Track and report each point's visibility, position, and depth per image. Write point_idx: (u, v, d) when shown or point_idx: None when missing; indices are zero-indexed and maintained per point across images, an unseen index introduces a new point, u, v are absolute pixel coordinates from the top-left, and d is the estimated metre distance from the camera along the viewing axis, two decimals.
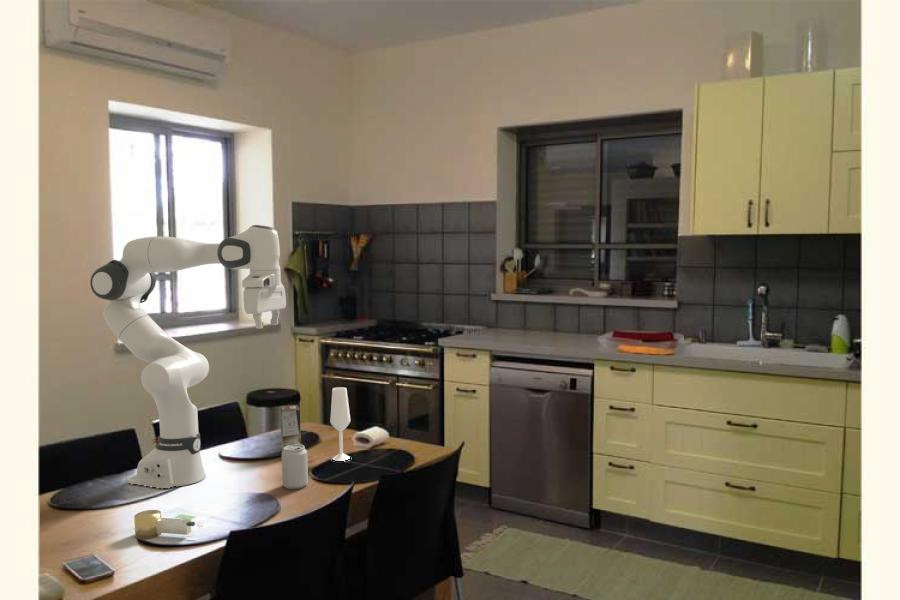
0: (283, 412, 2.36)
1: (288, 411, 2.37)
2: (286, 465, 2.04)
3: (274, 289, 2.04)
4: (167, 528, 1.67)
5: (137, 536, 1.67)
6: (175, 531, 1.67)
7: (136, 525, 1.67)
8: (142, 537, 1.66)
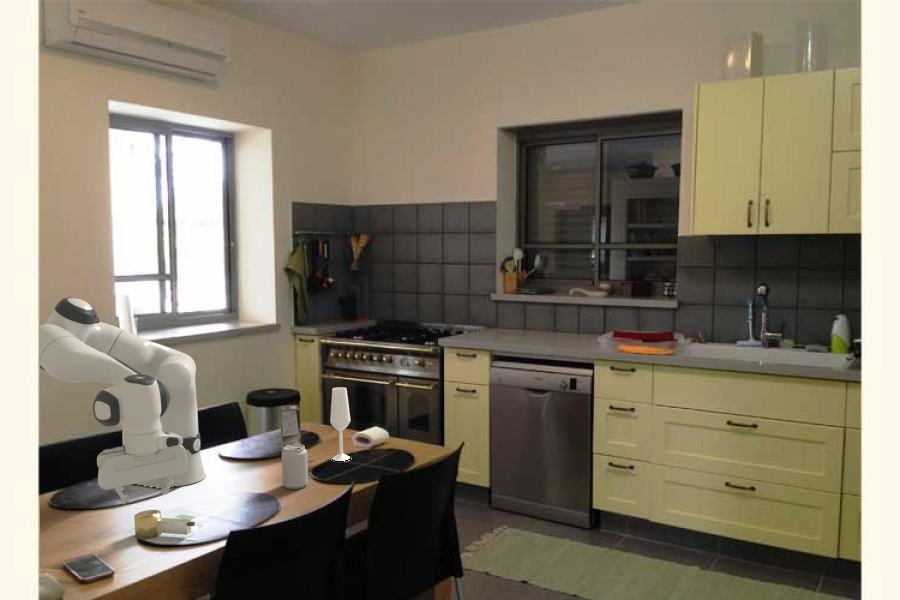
0: (283, 412, 2.36)
1: (288, 411, 2.37)
2: (286, 465, 2.04)
3: None
4: (167, 528, 1.67)
5: (137, 536, 1.67)
6: (175, 531, 1.67)
7: (136, 525, 1.67)
8: (142, 537, 1.66)
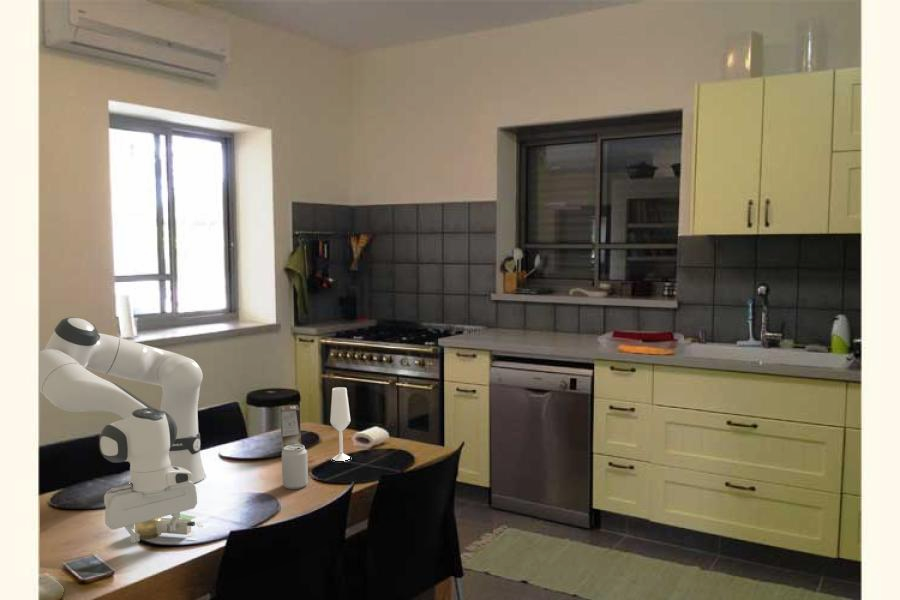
0: (283, 412, 2.36)
1: (288, 411, 2.37)
2: (286, 465, 2.04)
3: None
4: None
5: None
6: (175, 531, 1.67)
7: (136, 525, 1.67)
8: (142, 537, 1.66)
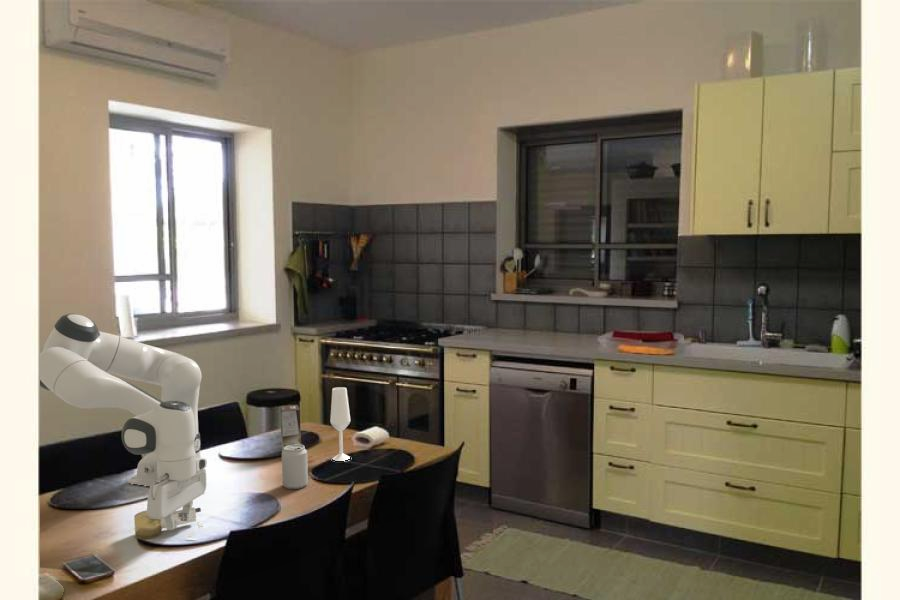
0: (283, 412, 2.36)
1: (288, 411, 2.37)
2: (286, 465, 2.04)
3: None
4: (174, 520, 1.72)
5: (146, 536, 1.66)
6: (183, 521, 1.73)
7: (144, 526, 1.66)
8: (153, 536, 1.67)
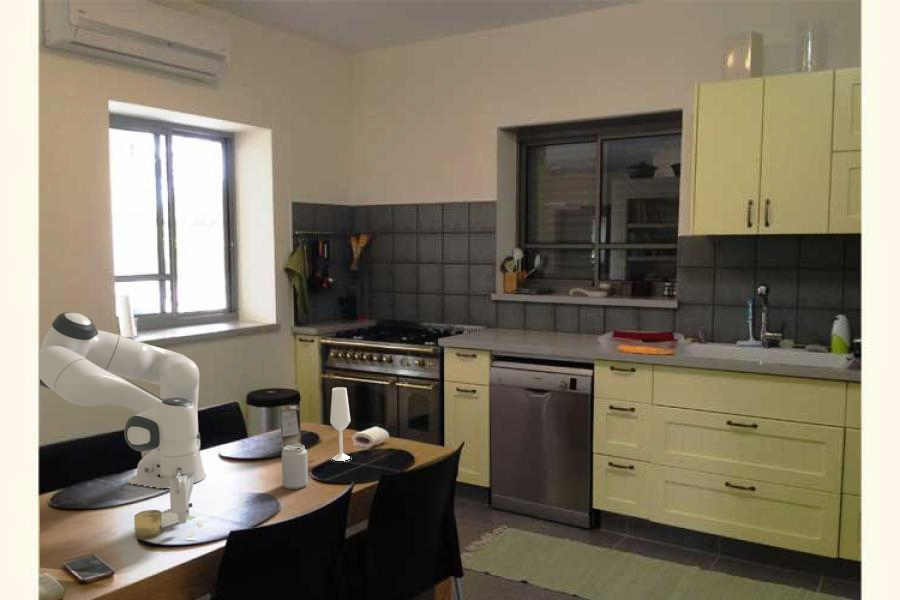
0: (283, 412, 2.36)
1: (288, 411, 2.37)
2: (286, 465, 2.04)
3: None
4: (171, 517, 1.74)
5: (151, 536, 1.67)
6: None
7: (150, 525, 1.66)
8: (157, 534, 1.68)
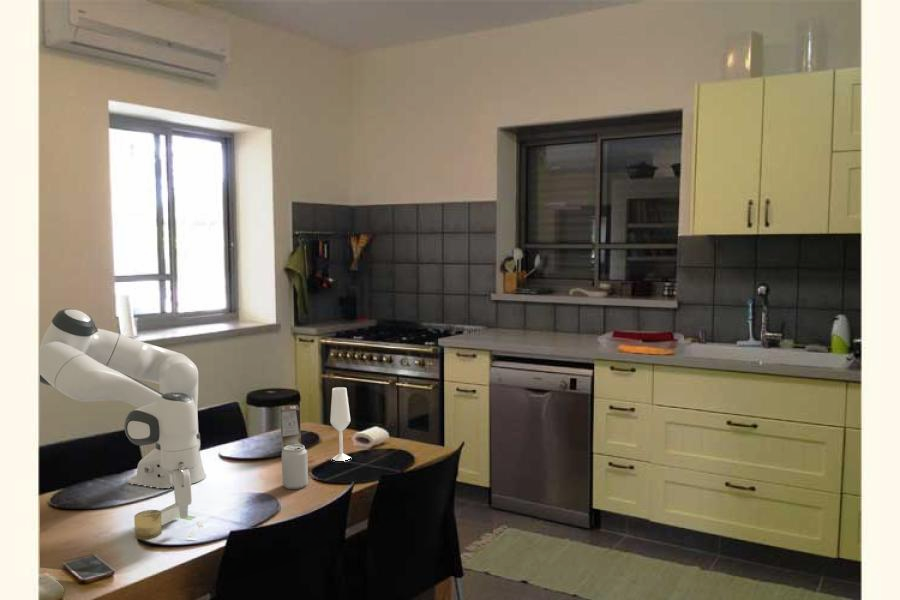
0: (283, 412, 2.36)
1: (288, 411, 2.37)
2: (286, 465, 2.04)
3: (167, 469, 1.72)
4: (168, 516, 1.74)
5: (154, 535, 1.67)
6: (174, 516, 1.76)
7: (153, 524, 1.67)
8: (159, 533, 1.69)
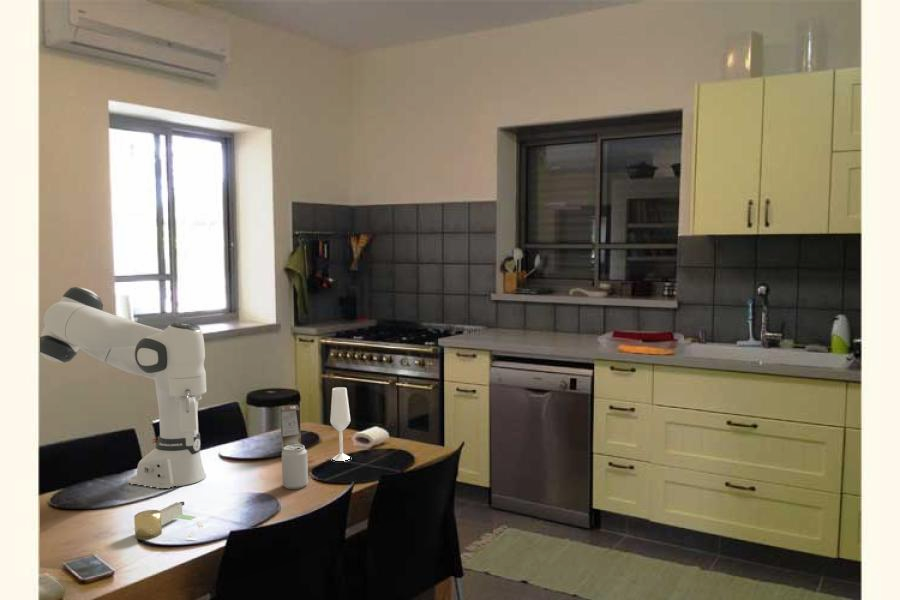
0: (283, 412, 2.36)
1: (288, 411, 2.37)
2: (286, 465, 2.04)
3: None
4: (168, 516, 1.74)
5: (154, 535, 1.67)
6: (174, 516, 1.76)
7: (153, 524, 1.67)
8: (159, 533, 1.69)
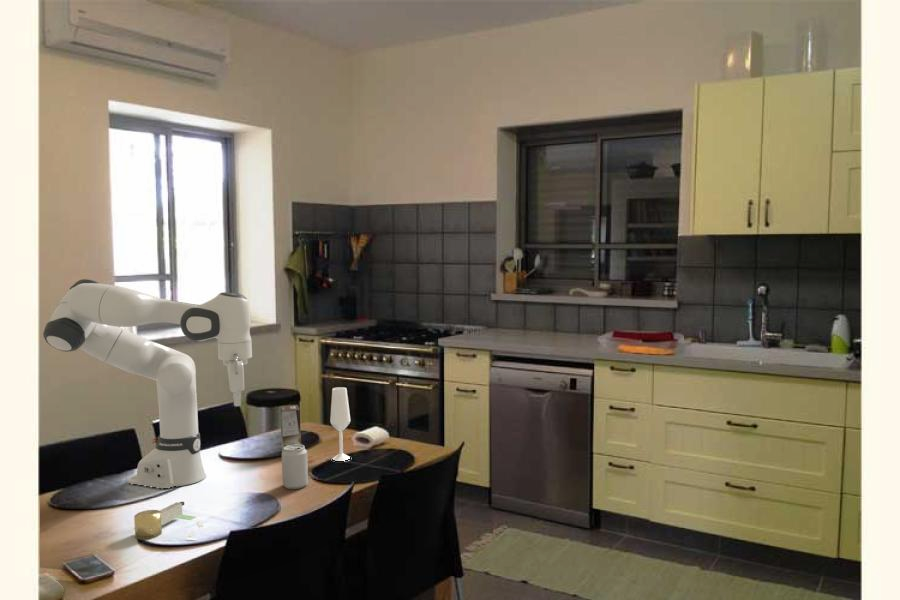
0: (283, 412, 2.36)
1: (288, 411, 2.37)
2: (286, 465, 2.04)
3: None
4: (168, 516, 1.74)
5: (154, 535, 1.67)
6: (174, 516, 1.76)
7: (153, 524, 1.67)
8: (159, 533, 1.69)
